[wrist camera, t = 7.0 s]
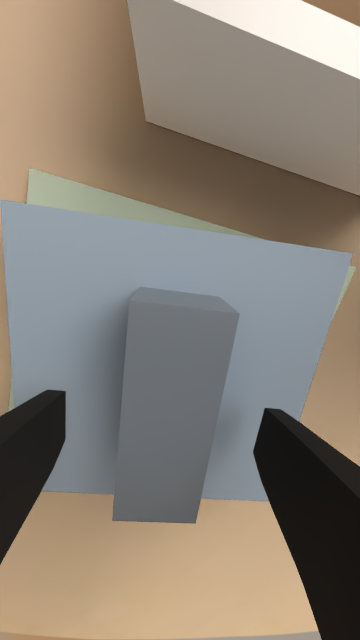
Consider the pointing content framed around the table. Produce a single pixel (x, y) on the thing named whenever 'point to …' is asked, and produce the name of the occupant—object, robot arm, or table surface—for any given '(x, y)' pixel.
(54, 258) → the lid
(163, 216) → the mat
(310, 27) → the storage box
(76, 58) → the table surface
